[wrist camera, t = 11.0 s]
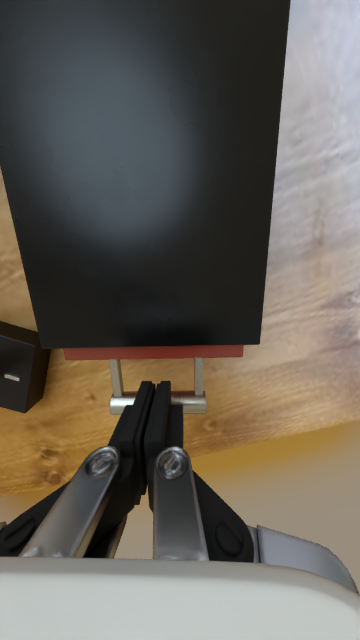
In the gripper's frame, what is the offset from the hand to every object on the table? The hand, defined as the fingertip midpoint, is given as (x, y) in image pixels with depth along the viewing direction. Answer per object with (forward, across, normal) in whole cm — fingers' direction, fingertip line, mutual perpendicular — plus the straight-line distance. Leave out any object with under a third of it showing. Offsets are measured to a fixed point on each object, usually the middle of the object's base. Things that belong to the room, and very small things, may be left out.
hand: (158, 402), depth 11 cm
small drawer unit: (+9, 0, -11) cm, 14 cm away
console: (+9, +18, +1) cm, 21 cm away
